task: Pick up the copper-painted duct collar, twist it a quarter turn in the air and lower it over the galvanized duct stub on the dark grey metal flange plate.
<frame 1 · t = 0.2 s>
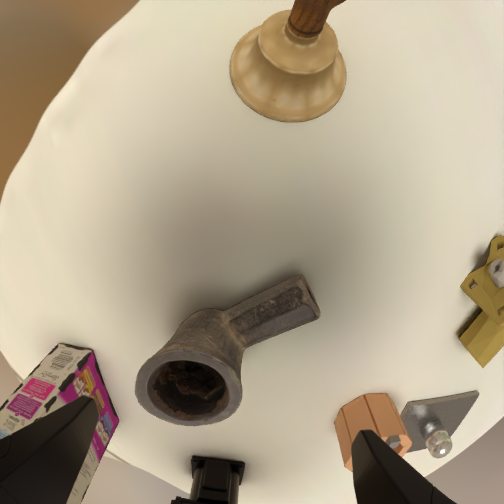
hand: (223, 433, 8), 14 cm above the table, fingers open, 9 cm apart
pipe: (232, 314, 23), on the table
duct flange: (428, 424, 27), on the table
ball valve: (488, 284, 22), on the table
hand bell: (288, 69, 18), on the table
collar: (364, 414, 26), on the table
candy bar box: (89, 384, 26), on the table
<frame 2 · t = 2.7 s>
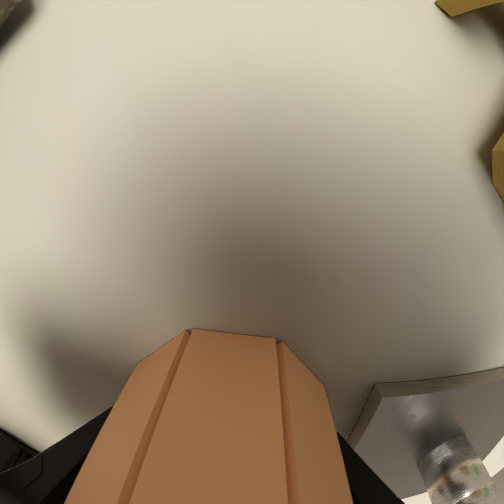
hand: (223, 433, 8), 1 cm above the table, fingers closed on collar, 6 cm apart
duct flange: (438, 444, 10), on the table
collar: (226, 408, 9), on the table, touching gripper
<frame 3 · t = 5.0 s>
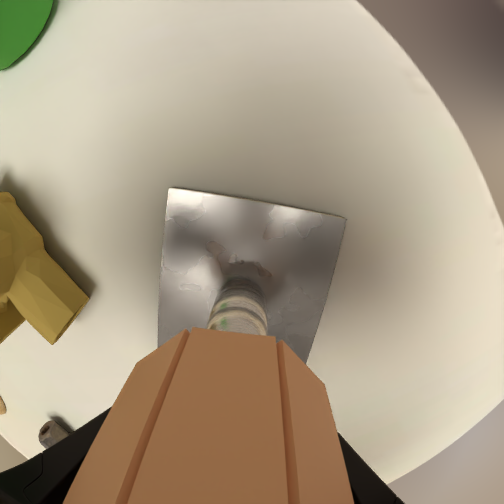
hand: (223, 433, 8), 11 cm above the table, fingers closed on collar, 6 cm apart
pipe: (89, 450, 25), on the table
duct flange: (241, 297, 18), on the table
bottle: (23, 28, 12), on the table
ball valve: (28, 263, 18), on the table
collar: (226, 407, 9), point 9 cm above the table, touching gripper
when the fingers open (3 cm above the table, at t = 7.2 s): collar drops 1 cm, resting on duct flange.
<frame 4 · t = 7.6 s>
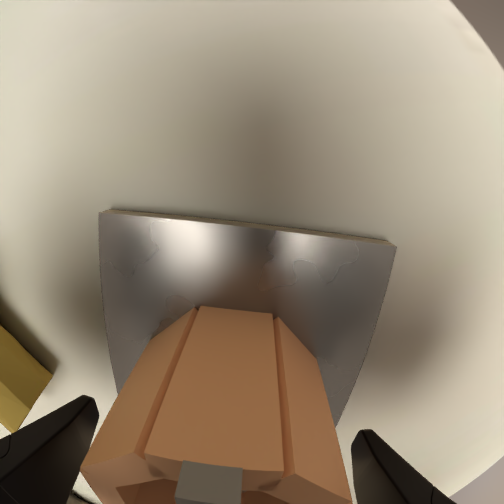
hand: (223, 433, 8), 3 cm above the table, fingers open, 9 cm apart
pipe: (81, 497, 18), on the table
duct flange: (231, 369, 11), on the table
collar: (229, 381, 11), point 1 cm above the table, touching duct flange
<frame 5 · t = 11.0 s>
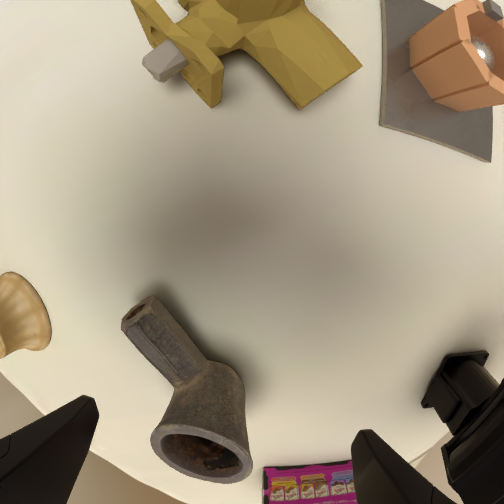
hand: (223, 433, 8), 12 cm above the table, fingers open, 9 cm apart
pipe: (197, 359, 22), on the table
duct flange: (440, 70, 15), on the table
ball valve: (233, 47, 15), on the table
hand bell: (22, 311, 21), on the table
collar: (446, 67, 14), point 1 cm above the table, touching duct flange
candy bar box: (310, 472, 26), on the table
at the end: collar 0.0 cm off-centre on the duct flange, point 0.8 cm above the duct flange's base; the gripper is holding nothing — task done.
